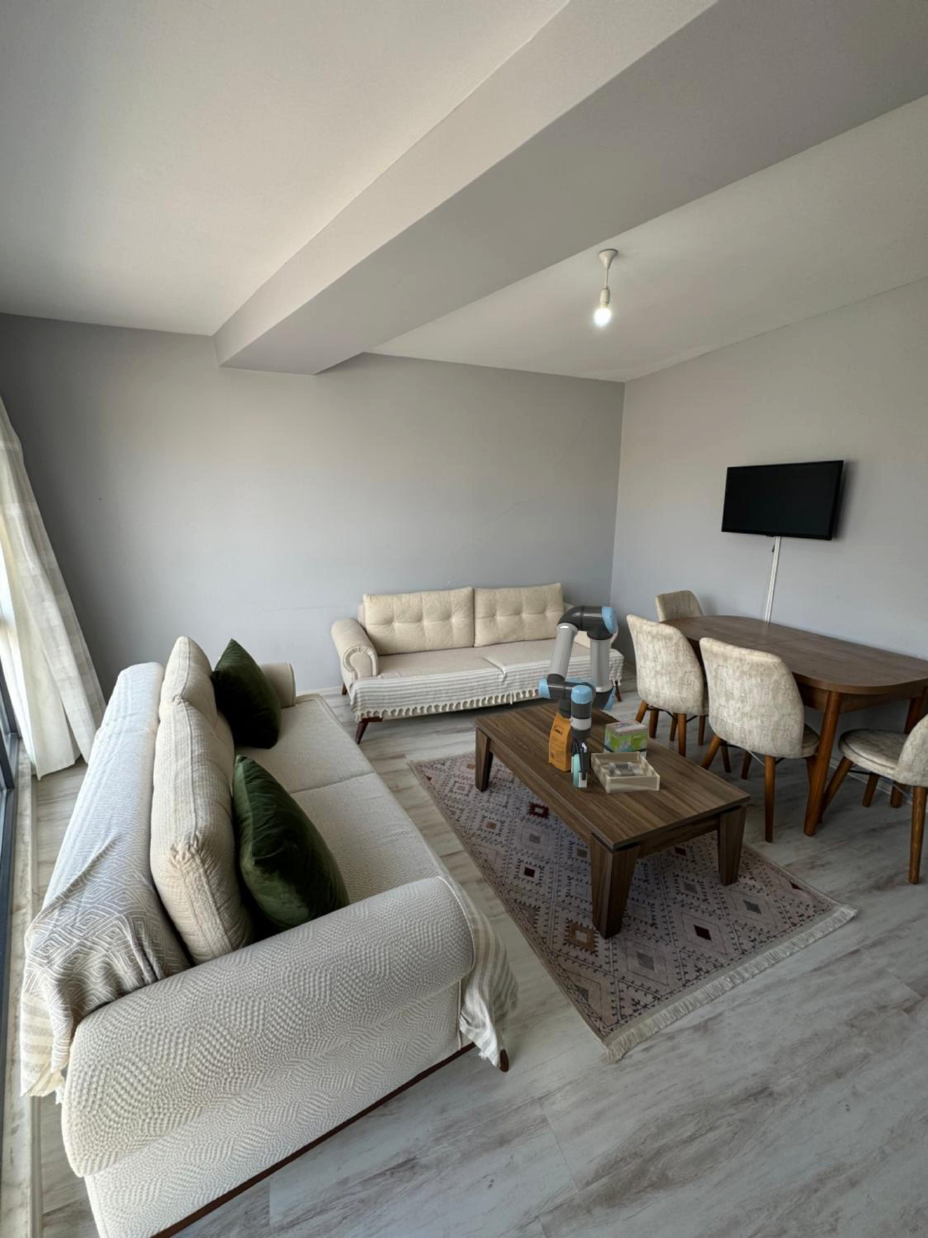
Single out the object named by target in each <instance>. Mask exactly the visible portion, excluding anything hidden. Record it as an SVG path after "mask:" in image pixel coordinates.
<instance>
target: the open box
mask: <svg viewBox="0 0 928 1238" xmlns="http://www.w3.org/2000/svg"><path fill="white" fill-rule="evenodd" d="M590 757H591V758H590V759H591V763H590V764H591V765H590V767H591V770H592V771H593V772H594V774H595V776H596V777H597V779H598V781H599V782H600V784H601V786H602V787H603V789H604V790H605V792H606V794H620V793H622V794H623V793H639V792H640V793H641V792H659V791H660V782H661V781H660V780H661V776H660V775H659V774H658V772H657V771H656V770H655V769H654V767H653V766H652V765H651V764H650V762H649V761H648V760H647V759H646V758H644V757H643V756H642V755H641V753H640V752H639V751H638V752H616V753H604V752H600V753H599V752H597V753H591V756H590Z"/></svg>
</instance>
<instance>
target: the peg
mask: <svg viewBox="0 0 928 1238" xmlns="http://www.w3.org/2000/svg"><path fill="white" fill-rule="evenodd" d="M579 771H580V762H579V754H576V755H574V773H573V778H572V779H573V780H572V781H573V783H572V785H573V786H574V787H576V788H580V787H579Z"/></svg>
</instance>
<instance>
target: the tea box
mask: <svg viewBox="0 0 928 1238" xmlns="http://www.w3.org/2000/svg"><path fill="white" fill-rule="evenodd" d="M604 733H605V734H604V746H603V753H616V752H638V751H639V752H640V753H641V755H642V756H643V757H644V758H645V759H646V758H647V749H648V748H647V747H648V735H649V726H646V725H645V724H642V723H641V722H639V721H637V720H636V719H633V718H632V719H627V720H622V721H617V722H612V723H607V724H605V731H604Z"/></svg>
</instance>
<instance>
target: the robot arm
mask: <svg viewBox="0 0 928 1238" xmlns="http://www.w3.org/2000/svg"><path fill="white" fill-rule="evenodd" d="M617 631H618V616H617V611H616V609H615V608H614V607H612V606H606V605H603V606H600V605H584V604H578V605H575V606H572V607H570V608H569V609H567V610H566V611H564V613H562V615H560V618H559V619H558V621H557V624H556V639H555V643H554V646H553V651H552V655H551V658H550V663H549V668H548V671H547V674H546V675H547V676H546V678H541V679H540V681H539V683H538V695H539V697H541V698H545V699H549V700H558V710H557V712H559V713H560V714H561V715H562V717H563V718H567V719H570V721H571V727H570V735H571V736H572V742H571V749H570V752H571V753H572V754H571V755H572V756H573V757H572V768H571V774H574V755H576V754H579V762H580V771H579V787H578V788H587V784H588V782H587V781H588V780H587V779H588V774H590V762H589V759H590V758H589V750H590V749H589V746H588V744H587V741H586V740H588V739H589V738H590V737H591V733H592V732H591V729H592V728H591V726H592V710H596V711H597V710H598V711H599V710H600V711H607V712H608V711H611V710H612V709H613V705H614V700H615V695H616V691H617V690H616V689H617V687H615V686H613V682H612V681H611V680H610V660H611V659H610V657H611V656H610V652H611V649H610V648H611V639H612V638H613V637H614V635H616V634H617ZM579 632H586V637H587V639H589V656H590V657H589V660H590V661H589V663H590V664H589V667H590V671H589V672H590V673H589V675H590V679H589V680H583V679H581V678H571V677H570V678H567V674H568V670H569V665H570V661H571V656H572V651H573V647H574V643H575V637H576V636H577V635H578V634H579Z"/></svg>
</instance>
